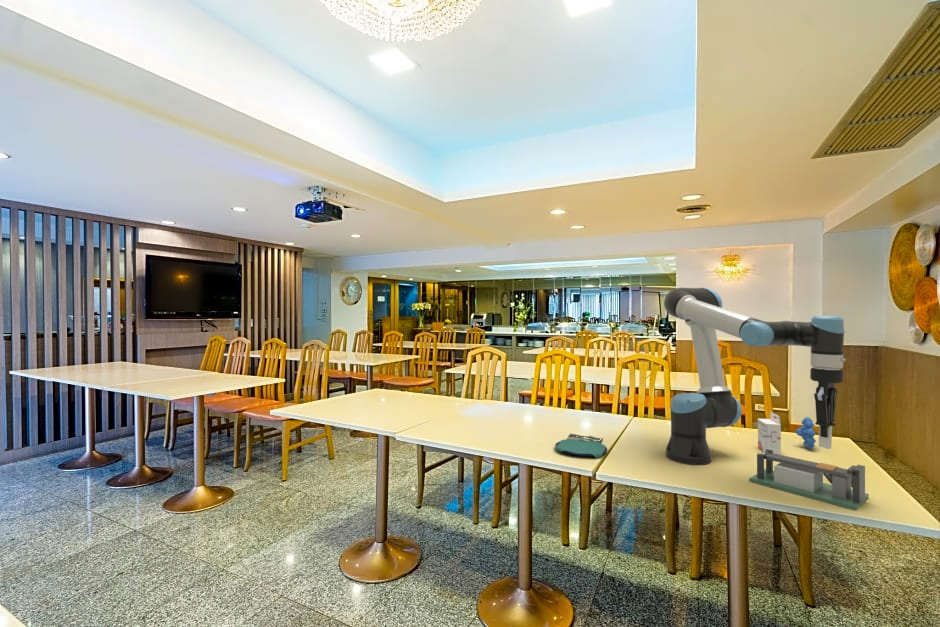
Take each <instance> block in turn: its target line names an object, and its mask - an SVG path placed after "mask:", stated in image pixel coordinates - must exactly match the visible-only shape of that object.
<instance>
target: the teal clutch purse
mask: <svg viewBox="0 0 940 627" xmlns="http://www.w3.org/2000/svg"><path fill="white" fill-rule="evenodd" d="M567 436H568V437H566V439H561V440H559V441H558V442H556V443H555V445H554V446H555V449H556V451H557V452H560V453H562V452H563V453H566V454H569V455H575V456H583V457H585V456H587V457H590V456H591V457H592V456H594V457H595V459H600V458H601V457H602V456H603V454H605V453H608V447H607V446H606V445H604V444H603V443H602V442H603V441H604V440H603V439H604V438H601V437H595V436H593V435H589V436H588V435H579V434H576V433H575V434H574V433H569V434H568V435H567ZM576 436H578V437H576ZM584 437H587V438H584ZM591 438H592V439H591ZM600 439H601V440H600ZM590 440H591V441H590ZM599 440H600V441H599ZM594 441H595V442H594ZM599 457H600V458H599Z"/></svg>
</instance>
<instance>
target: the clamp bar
mask: <svg viewBox="0 0 940 627" xmlns="http://www.w3.org/2000/svg"><path fill="white" fill-rule="evenodd" d="M760 454H763V455H764V460H766V459H767V460H772V461H773V462H776V463H785V464H789V465H794V466H798V467H802V468H807V469H811V470H816V471H820V472H824V473H829V474H833V475H837V476H842V477H847V476H849V475H850V474H847V468H842V467H838V466H839V465H834V464H829V463H824V462H816V461H810V460H807V459H801V458H796V457H791V456H789V455H788V456H787V455H783V454H781V455H779V454H774V453H770V452H769V451H765V452H764V451H762V452H761V453H760Z"/></svg>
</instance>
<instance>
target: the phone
mask: <svg viewBox="0 0 940 627" xmlns="http://www.w3.org/2000/svg"><path fill="white" fill-rule="evenodd" d="M832 475H833V474H829V473H824V472H823V477H825V478H826V479H827V481H828V482H829V483H830V485H832ZM851 487H852V488H851V489H853V475H851Z"/></svg>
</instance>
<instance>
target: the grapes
mask: <svg viewBox="0 0 940 627" xmlns="http://www.w3.org/2000/svg"><path fill="white" fill-rule="evenodd" d="M801 424H802V425H801V427H798V428H796V430H795V434H796V435H797V436H799V437H801V438H802V440H803V442H802V444H803V446H804V447H806V448H807V449H809V450H812V449H813V448H815V446H816V445H815V443H816V442H817V440H816V439H815V437H816V434H817V432H816V431H815V429H814V427H815V423H814V420H812V419H811V417H809V416H806V417H804V418H803V419H802V421H801ZM814 436H815V437H814Z"/></svg>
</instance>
